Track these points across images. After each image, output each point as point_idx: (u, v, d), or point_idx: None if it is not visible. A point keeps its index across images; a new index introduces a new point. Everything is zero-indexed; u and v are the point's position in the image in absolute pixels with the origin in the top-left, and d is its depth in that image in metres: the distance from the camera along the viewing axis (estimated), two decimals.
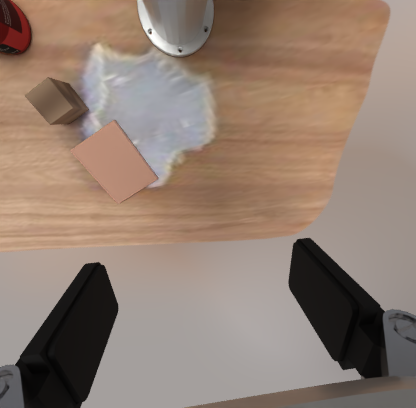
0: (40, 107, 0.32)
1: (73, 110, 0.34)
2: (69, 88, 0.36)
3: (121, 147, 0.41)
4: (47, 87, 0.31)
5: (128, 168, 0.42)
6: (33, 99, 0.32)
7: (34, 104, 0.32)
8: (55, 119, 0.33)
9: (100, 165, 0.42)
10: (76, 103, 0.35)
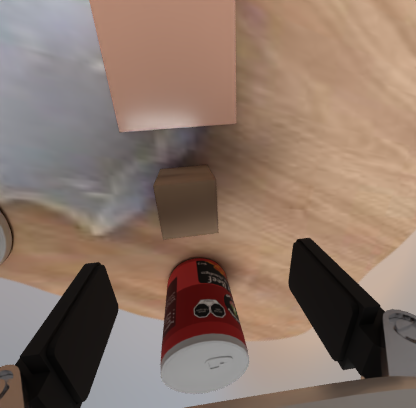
0: (208, 209, 0.17)
1: (162, 181, 0.17)
2: None
3: (132, 70, 0.17)
4: (174, 229, 0.17)
5: (141, 5, 0.15)
6: (210, 223, 0.18)
7: (214, 217, 0.17)
8: (199, 183, 0.16)
9: (201, 58, 0.17)
10: None
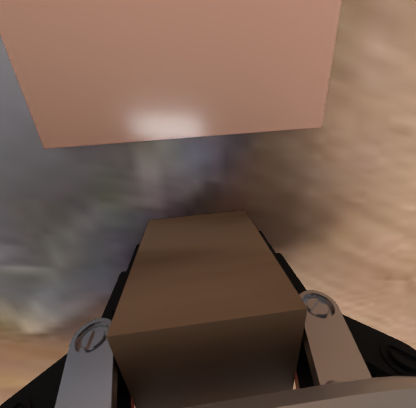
0: (272, 372, 0.06)
1: (143, 293, 0.06)
2: None
3: None
4: None
5: None
6: None
7: (284, 383, 0.06)
8: (255, 318, 0.05)
9: None
10: None
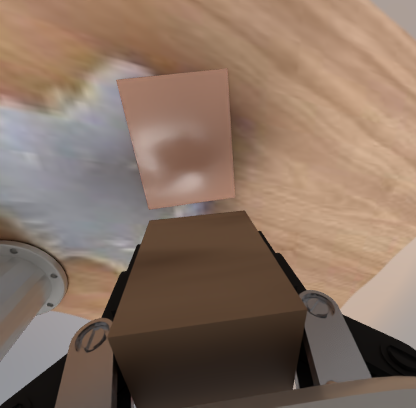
0: (273, 372, 0.06)
1: (144, 294, 0.06)
2: None
3: (158, 170, 0.23)
4: None
5: (165, 131, 0.22)
6: None
7: (284, 384, 0.06)
8: (255, 319, 0.05)
9: (207, 158, 0.23)
10: None
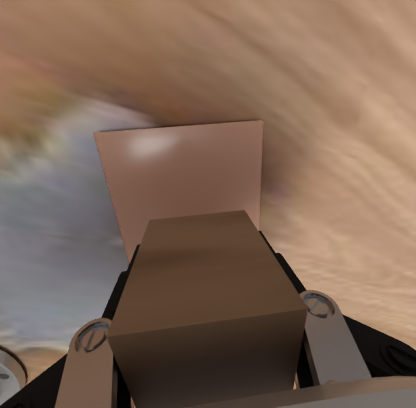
0: (273, 372, 0.06)
1: (144, 293, 0.06)
2: None
3: None
4: None
5: (165, 202, 0.15)
6: None
7: (285, 384, 0.06)
8: (256, 318, 0.05)
9: None
10: None
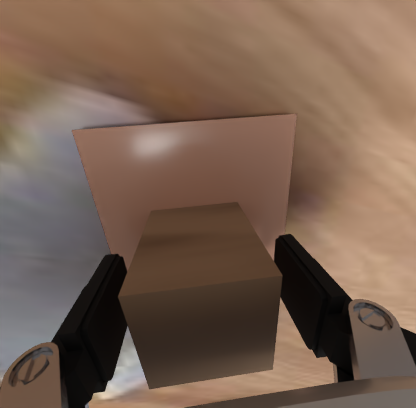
0: (256, 333, 0.07)
1: (147, 266, 0.07)
2: None
3: None
4: (175, 370, 0.08)
5: None
6: (257, 356, 0.08)
7: (267, 345, 0.07)
8: (239, 283, 0.06)
9: None
10: None
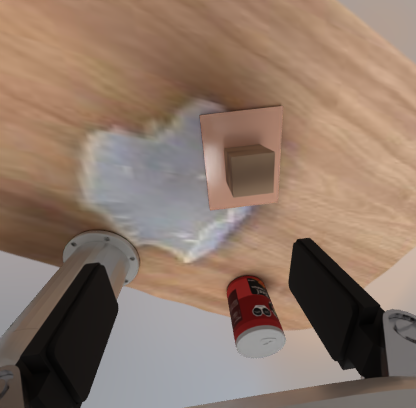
0: (268, 174, 0.24)
1: (235, 154, 0.23)
2: (227, 177, 0.28)
3: (221, 180, 0.30)
4: (242, 189, 0.24)
5: None
6: (268, 185, 0.24)
7: (271, 180, 0.24)
8: (263, 154, 0.23)
9: None
10: (228, 160, 0.25)
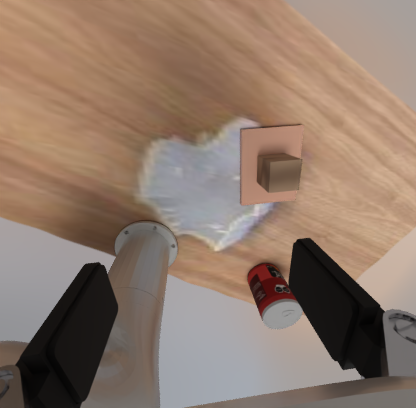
0: (295, 176, 0.31)
1: (271, 160, 0.31)
2: (259, 178, 0.36)
3: (252, 181, 0.37)
4: (276, 186, 0.32)
5: None
6: (295, 184, 0.32)
7: (297, 180, 0.32)
8: (293, 160, 0.30)
9: None
10: (264, 164, 0.33)
